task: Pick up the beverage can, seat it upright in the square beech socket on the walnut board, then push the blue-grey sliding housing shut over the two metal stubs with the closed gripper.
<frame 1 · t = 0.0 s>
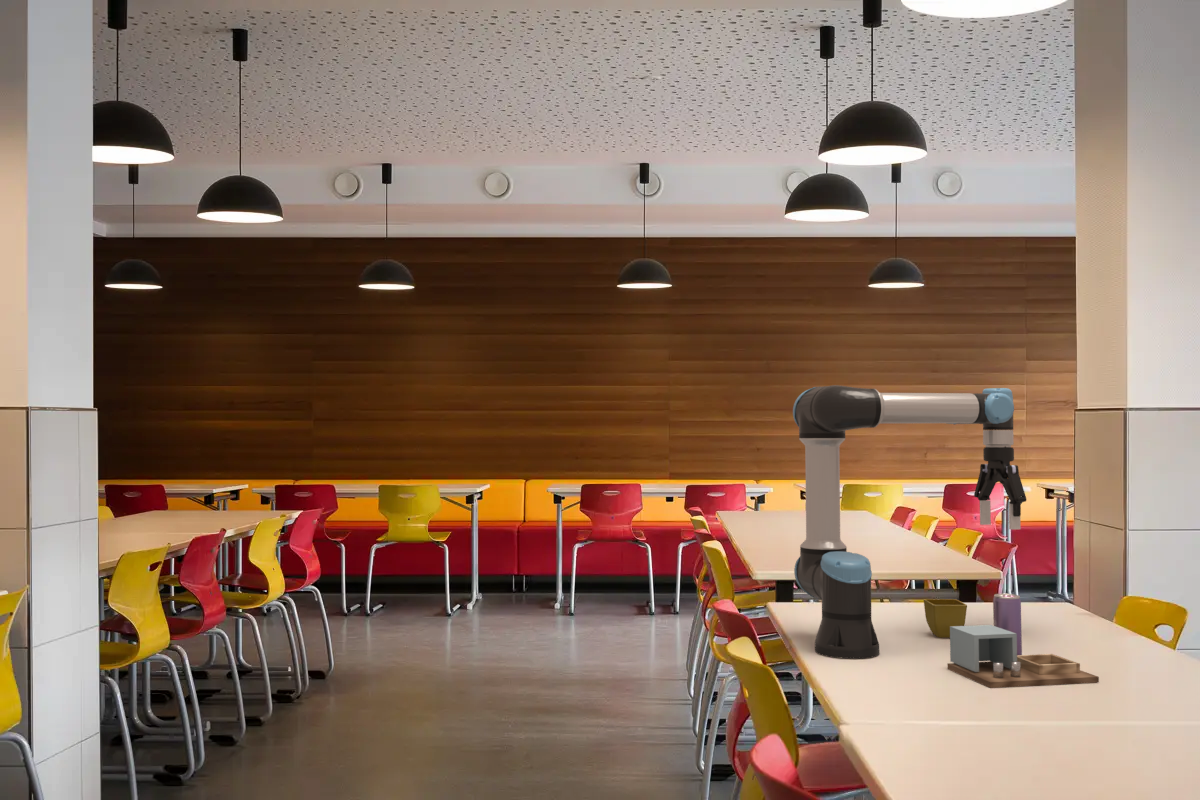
hand: (999, 527, 260), 28 cm above the table, fingers open, 13 cm apart
flower pot: (945, 637, 256), on the table
beverage can: (1008, 661, 228), on the table
housing: (982, 647, 217), point 5 cm above the table, slide at 7.0 cm
stubs: (1007, 682, 208), resting on base board
base board: (1020, 675, 214), on the table
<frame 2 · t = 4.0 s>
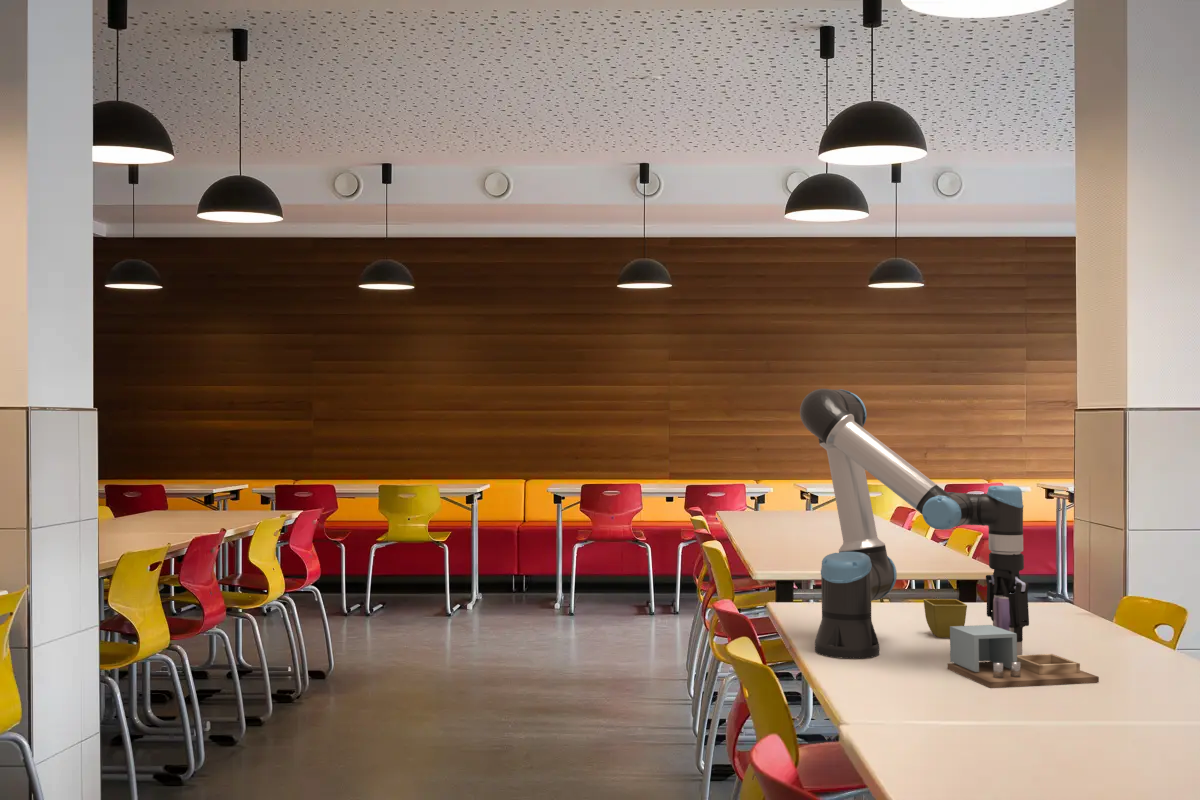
hand: (1007, 652, 228), 2 cm above the table, fingers closed on beverage can, 6 cm apart
beverage can: (1008, 661, 228), on the table, touching gripper
everything else where it was.
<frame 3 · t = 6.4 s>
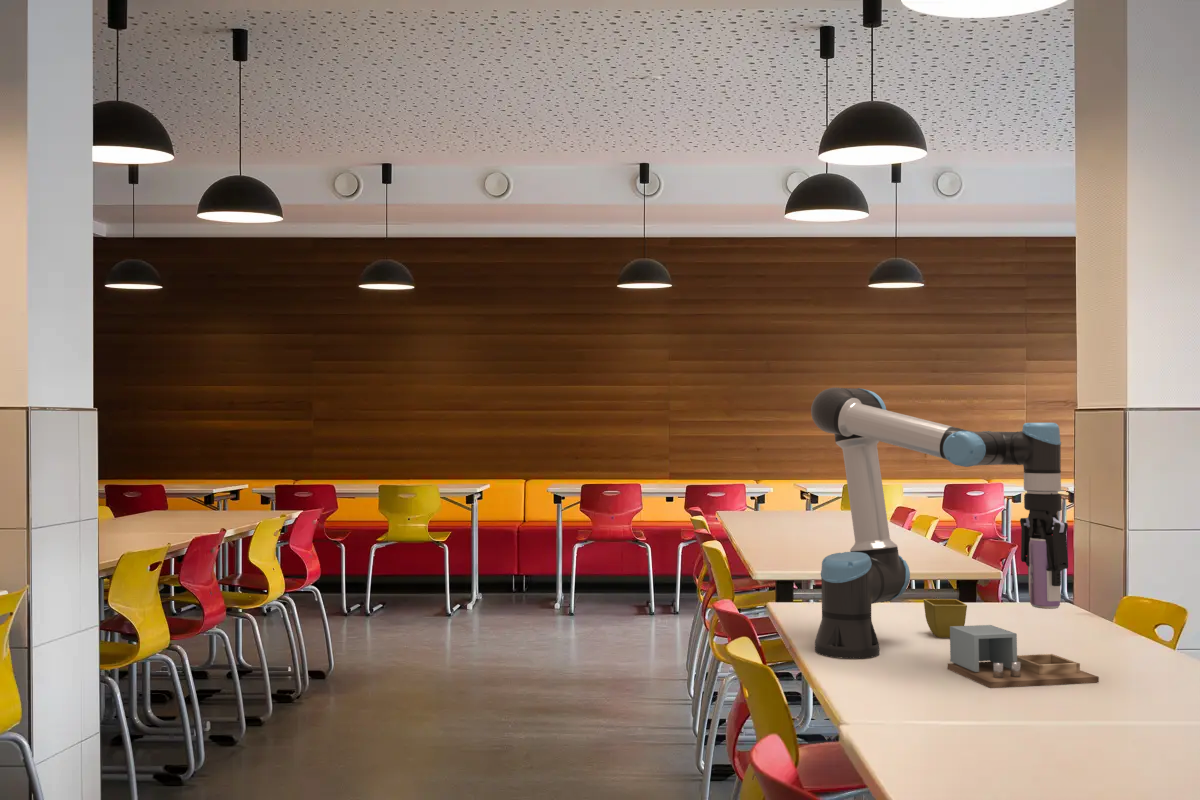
hand: (1044, 598, 216), 17 cm above the table, fingers closed on beverage can, 6 cm apart
beverage can: (1045, 607, 215), point 14 cm above the table, touching gripper
everything else where it was.
when the fingers open (4 cm above the table, at t = 8.8 s): beverage can drops 1 cm, resting on base board.
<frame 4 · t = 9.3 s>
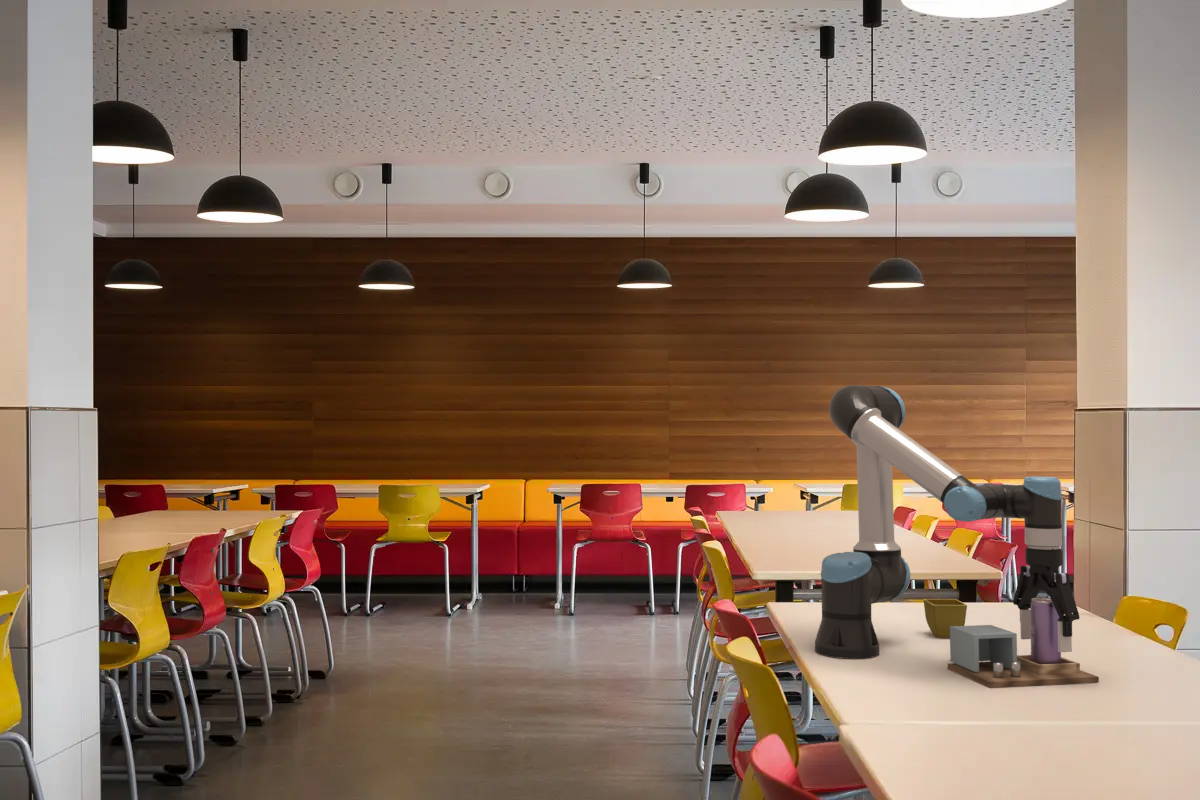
hand: (1045, 645, 215), 6 cm above the table, fingers open, 13 cm apart
beverage can: (1046, 669, 215), point 1 cm above the table, touching base board
everything else where it was.
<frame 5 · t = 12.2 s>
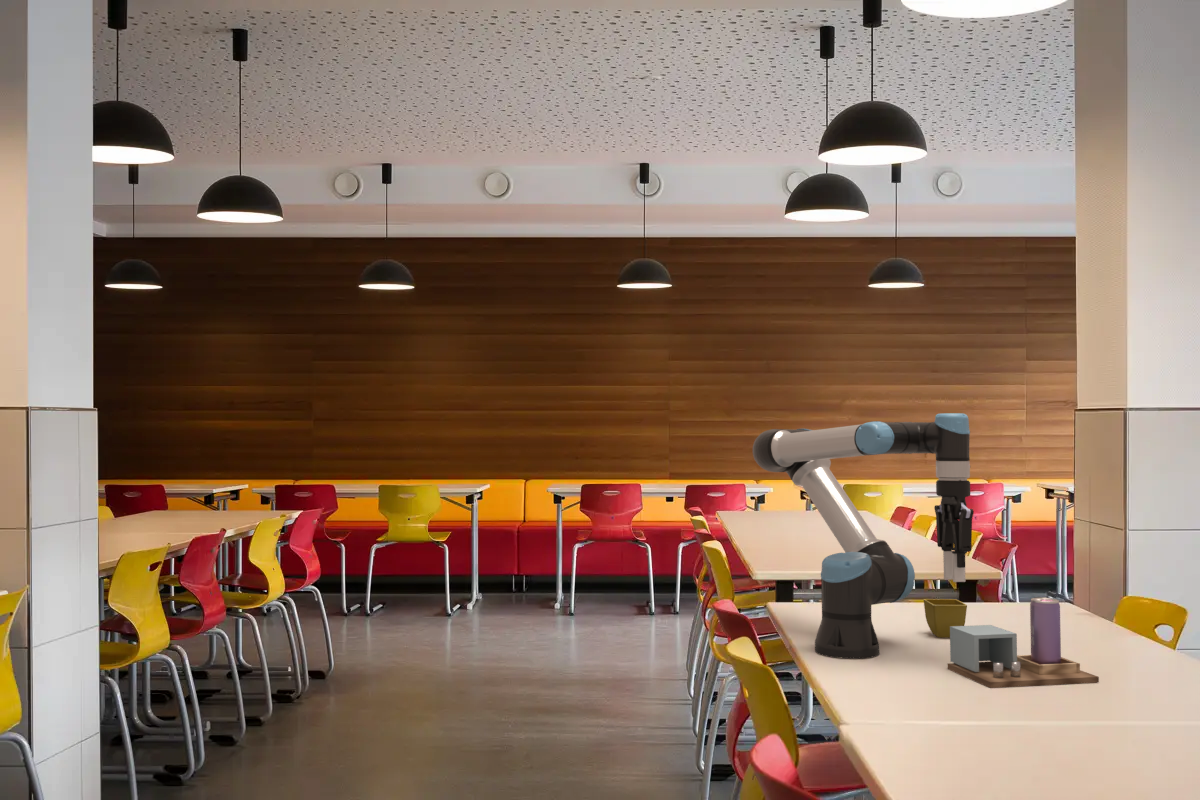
hand: (954, 580, 229), 19 cm above the table, fingers open, 3 cm apart
nothing on the table moved.
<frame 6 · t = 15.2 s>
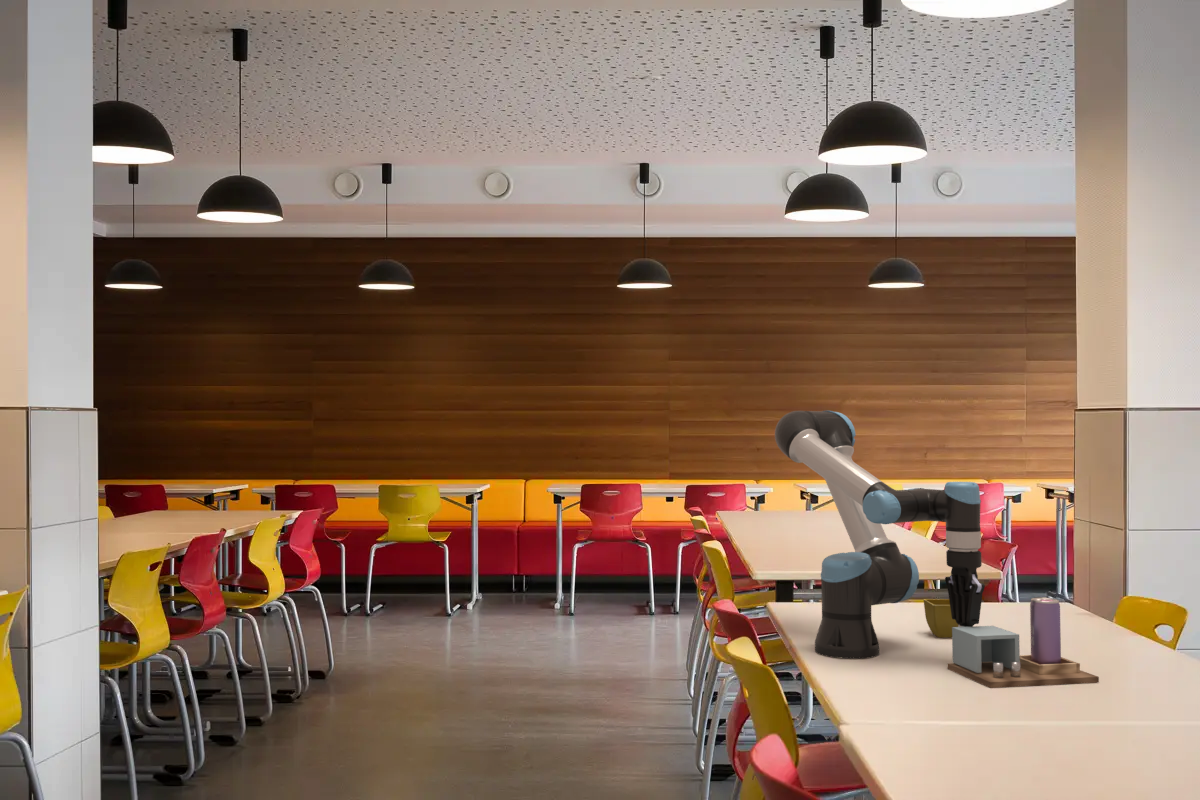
hand: (965, 653, 224), 3 cm above the table, fingers closed
housing: (985, 648, 216), point 5 cm above the table, slide at 6.0 cm, touching gripper
everything else where it was.
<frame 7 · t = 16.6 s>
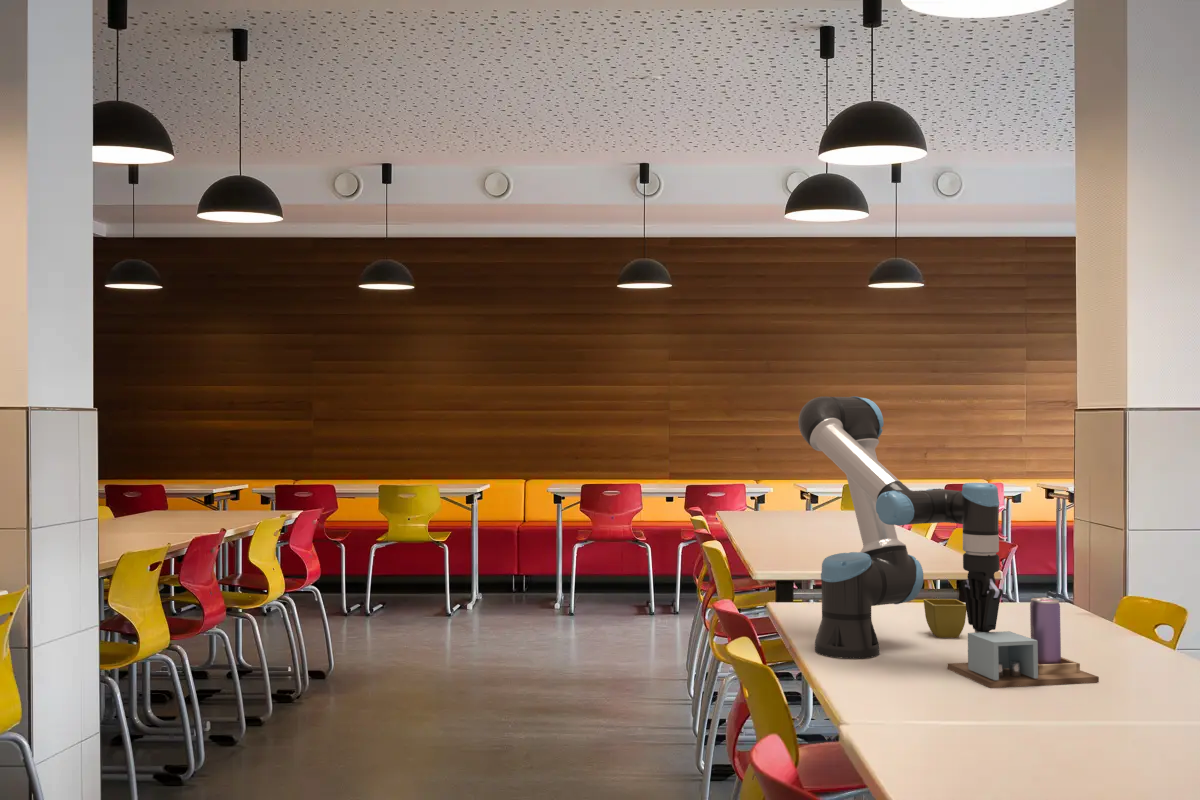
hand: (982, 660, 217), 3 cm above the table, fingers closed
housing: (1002, 655, 210), point 5 cm above the table, slide at -0.4 cm, touching gripper
everything else where it was.
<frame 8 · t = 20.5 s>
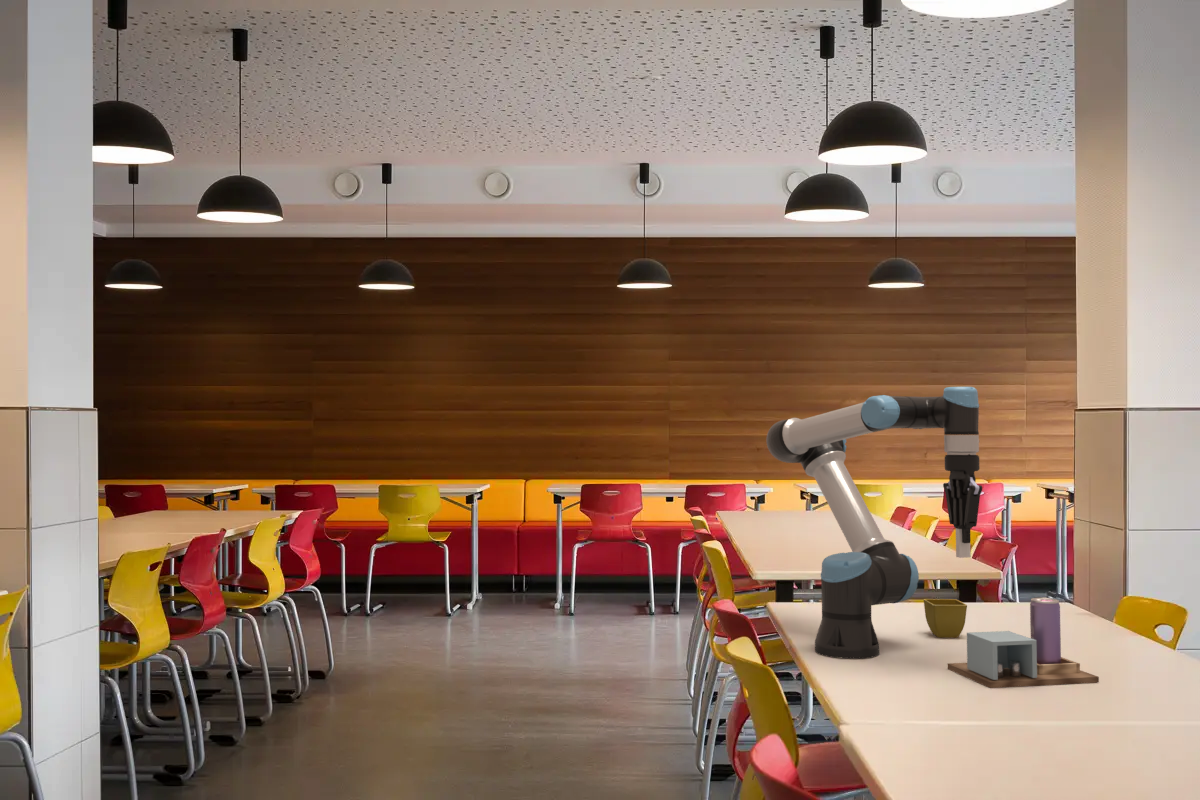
hand: (963, 557, 225), 24 cm above the table, fingers closed
housing: (1001, 654, 210), point 5 cm above the table, slide at 0.0 cm
everything else where it was.
at the end: beverage can 0.0 cm from the target spot, point 1.0 cm above the table; beverage can tilted 0°; housing slide at 0.0 cm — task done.
